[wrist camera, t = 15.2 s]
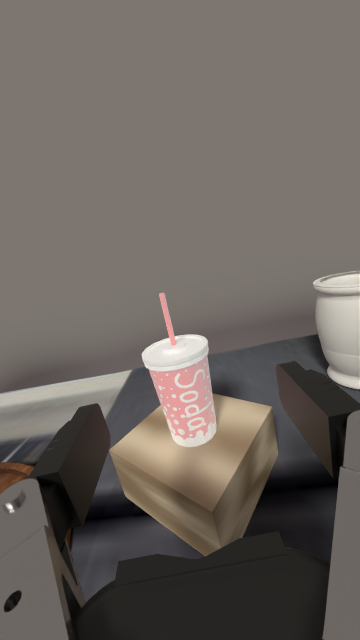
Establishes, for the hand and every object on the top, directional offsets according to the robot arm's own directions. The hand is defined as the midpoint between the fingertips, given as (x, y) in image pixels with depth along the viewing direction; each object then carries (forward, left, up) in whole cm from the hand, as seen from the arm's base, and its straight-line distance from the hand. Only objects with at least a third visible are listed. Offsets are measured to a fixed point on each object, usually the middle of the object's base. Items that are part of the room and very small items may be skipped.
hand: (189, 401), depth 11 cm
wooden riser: (-8, -8, -17) cm, 20 cm away
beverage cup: (-8, -8, -11) cm, 16 cm away
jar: (-33, +4, -17) cm, 37 cm away
